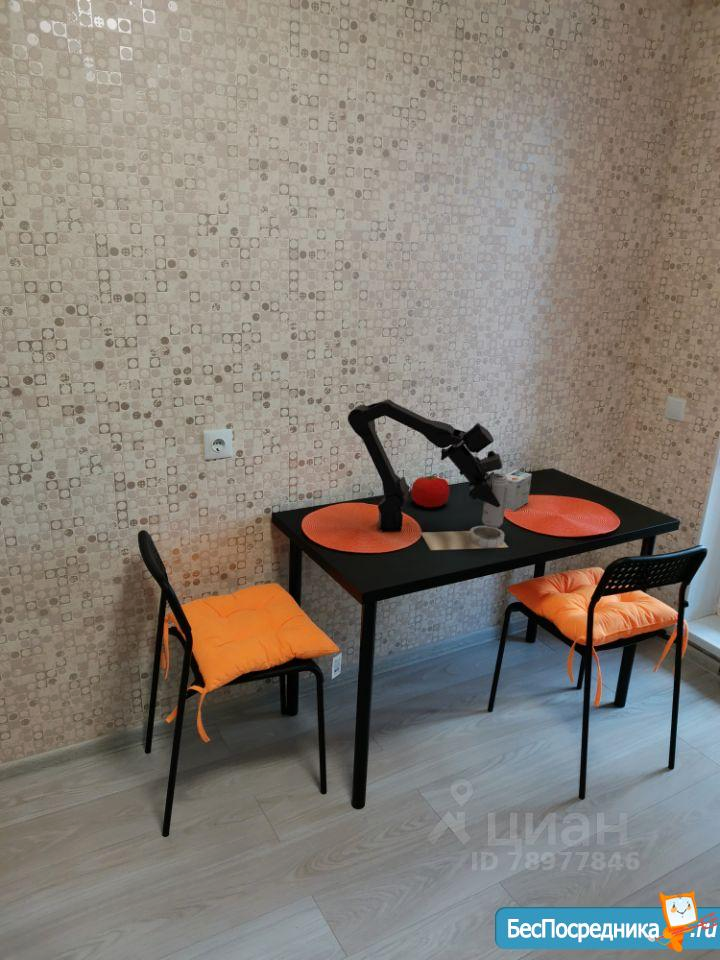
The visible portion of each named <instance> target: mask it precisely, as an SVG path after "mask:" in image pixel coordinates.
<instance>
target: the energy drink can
mask: <svg viewBox="0 0 720 960" xmlns="http://www.w3.org/2000/svg"><path fill="white" fill-rule="evenodd" d="M489 474H490V473H489ZM506 478H507V477H506V476H505V474H502V473H495V472H494V474H490V477H489V478H488V480H489V481H490V483H492V491H493V493H494V495H495V496H496V498H497V500H498V501H499V503H500V507H498V508H497V507H495V506H493V505H491V504H489V503H487V502H484V501H483V509H482V515H481V516H482V518H481V522H482V523H483V526H487V527H491V528H500V527H501V525H502V524H503V523H504V515H505V502H506V495H507V487H508V481H507V479H506Z"/></svg>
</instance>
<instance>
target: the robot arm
mask: <svg viewBox="0 0 720 960" xmlns="http://www.w3.org/2000/svg"><path fill="white" fill-rule="evenodd" d="M382 417H388V418H390V419H391V420H393V421H396V422H398V423H400V424H402V425H404V426H405V427H408V428H410V429H411V430H414V431H416V432H418V433H419V434H421V435H422V436H424V437H425V439H426V440H427V441H429V442H430V443H431V444H433V445H434V446H436V447H437V448H440V449H441V451H440V453H441V457H440V460H441V461H444V460H445V459H446V458H448V459H449V460H450V461H451V462H452V463H453V464H454V466H455V467H456V468H457V470H459V472H458V473H459V474H460V476H464V478H465V479H466V480H467V482H468V485H469V493H468V496H469V497H470V499H471V500H472V501H475V500H477V499H478V500H480V501H482V502H483V503H484V502H487V503H489V504H491V505H493V506H495V507H497V508H498V507H500V503H499V501H498V500H497V498H496V496H495V495H494V493H493V491H492V483H490V481H489V480H488V478H489V477H490V474H494V473H495V472H494V471H499V470H501V469H502V468H503V462H502V458H501V456H500V454H499V453H496V452H495V451H494V450H489V451H487V455H486V456H485V457H484V458H482V459H481V458H480V457H478V456H474V455H473V454H474V453H476V454H478V453H480V452H482V451H483V450H484V449H485V448H486V447H488V446H490V444H492V443H494V441H495V439H494V438H493V436H492V434H491V433H490V431H489V430H488V429H486V428H485V427H484V426H483V425H481V424H480V423H479V422H477V423H476V424H475V425H474V426H473V427H471V428H470V429H469V430H467V431H464V430H460V429H457V428H454V426H453V425H452V424H449V423H446V422H442V421H440V420H439V421H438V420H434V419H428V418H426V417H424V416H422V415H420V414H418V413H416V412H414V411H411V410H410V409H408V408H406V407H403V406H402V405H399V404H397V403H396V402H393V401H392V400H391V399H386V398H385V399H383V400H382V401H379V402H374V403H371V404H369V405H366V404H359V405H357V406H356V407H354V408H353V409H352V410H351V411H350V412H349V413H348V416H347V422H348V425H349V426H350V427H351V429H352V430H353V432H354V433H355V434H357V436H358V437H360V439H361V440H362V441H363V443H364V445H365V448H366V450H367V452H368V454H369V457H370V458H371V460H372V463H373V465H374V467H375V470H376V472H377V473H378V475H379V478H380V479H381V480H380V481H381V483H382V490H383V491H382V493H383V496H384V497H383V498H382V499H381V501H380V502H379V504H378V505H377V509H378V521H377V522H378V525H379V527H380V529H379V531H380V530H382V531H389V532H402V531H403V530H402V527H403V518H404V517H403V515H404V514H403V513H402V509H401V508H402V507H403V506H404V505H405V503H406V502H407V500H408V499H409V496H410V489H411V488H410V486H409V485H408V484H407V481H406V477H405V476H402V477H401V478H400V476H398V475H397V473H396V472H395V470H394V467H393V466H392V464H391V461H390V459H389V458H388V455H387V453H386V451H385V448H384V446H383V444H382V442H381V439H380V438H379V436H378V433H377V430H376V421H375V420H377V419H380V418H382ZM489 472H490V473H489ZM378 525H377V526H378ZM379 527H378V528H379Z"/></svg>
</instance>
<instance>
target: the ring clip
mask: <svg viewBox="0 0 720 960" xmlns="http://www.w3.org/2000/svg"><path fill="white" fill-rule="evenodd" d="M469 531H470V532H469V540H470V542H471V543H473V544H475V545H477V546H480V547H486V548H485V549H496V548H495V547H499V546H501V545H502V544H503V542H505V532H504V531H503V530H501V529H499V527H497V528H491V527H487V526H485V525H477V526H473V527H471V528H470V529H469ZM477 535H489V536H493V537H496V538H483V537H480V536H477Z"/></svg>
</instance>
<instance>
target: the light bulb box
mask: <svg viewBox="0 0 720 960" xmlns="http://www.w3.org/2000/svg"><path fill="white" fill-rule="evenodd" d="M504 475H505V476H506V477H507V478H506V479H507V481H508V487H507V495H506V502H505V509H509V510H512V511H514V510H515V511H517V510H518V509H517V508H519V507H521V506H523V505H524V504H526V503H529V498H530V490H531V481H532V476H533V475H532V473H530V472H529V473H528V472H525V471H521V470H517V469H513V470H511V471H509V472H508V473H506V474H504ZM526 505H527V504H526ZM524 506H525V505H524ZM524 506H523V507H524ZM521 508H522V507H521ZM505 509H504V510H505ZM516 509H517V510H516ZM519 509H520V508H519ZM515 511H514V512H515Z"/></svg>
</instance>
